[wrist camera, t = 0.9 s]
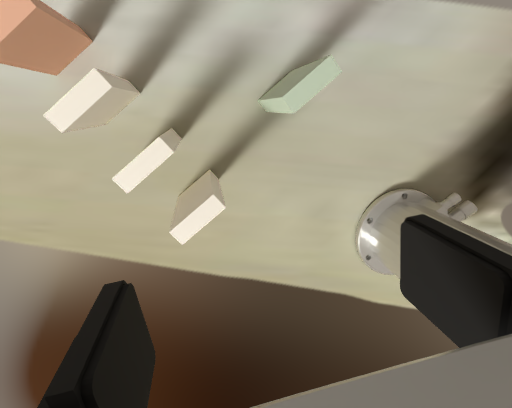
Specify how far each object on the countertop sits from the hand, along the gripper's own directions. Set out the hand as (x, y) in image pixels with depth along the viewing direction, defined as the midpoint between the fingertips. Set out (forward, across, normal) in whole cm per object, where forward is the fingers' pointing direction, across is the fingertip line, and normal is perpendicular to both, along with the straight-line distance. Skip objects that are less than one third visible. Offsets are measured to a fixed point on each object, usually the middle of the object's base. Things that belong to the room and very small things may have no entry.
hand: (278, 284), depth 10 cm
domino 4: (+27, +3, +3) cm, 27 cm away
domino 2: (+27, +10, -8) cm, 30 cm away
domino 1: (+27, +13, -13) cm, 33 cm away
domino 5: (+27, -8, -6) cm, 29 cm away
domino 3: (+27, +7, -2) cm, 28 cm away
